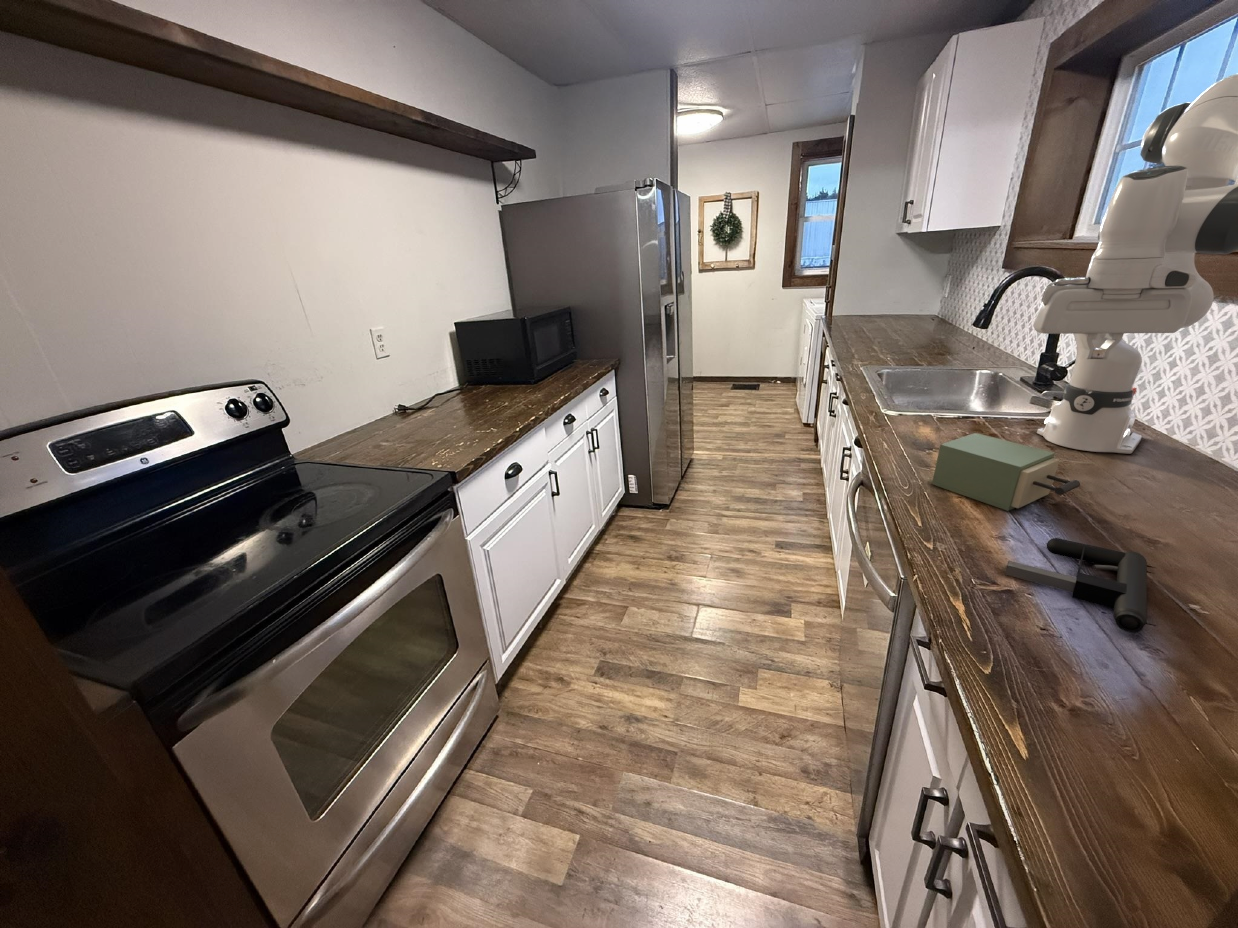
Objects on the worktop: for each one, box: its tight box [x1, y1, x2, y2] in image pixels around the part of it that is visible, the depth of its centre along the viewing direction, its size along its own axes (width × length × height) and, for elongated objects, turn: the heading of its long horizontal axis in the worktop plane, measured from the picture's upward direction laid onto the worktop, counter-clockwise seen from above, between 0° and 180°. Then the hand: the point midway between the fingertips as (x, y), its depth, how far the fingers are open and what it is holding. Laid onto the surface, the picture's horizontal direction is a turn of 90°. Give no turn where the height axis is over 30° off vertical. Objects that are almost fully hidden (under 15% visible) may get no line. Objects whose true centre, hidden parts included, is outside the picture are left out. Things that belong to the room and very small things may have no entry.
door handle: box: [1004, 537, 1157, 633], centre depth 73 cm, size 3×20×16 cm
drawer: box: [1011, 457, 1081, 509], centre depth 97 cm, size 18×11×7 cm, turn 28°
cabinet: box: [931, 432, 1056, 512], centre depth 101 cm, size 15×13×9 cm
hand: (1094, 358), depth 89 cm, fingers closed
